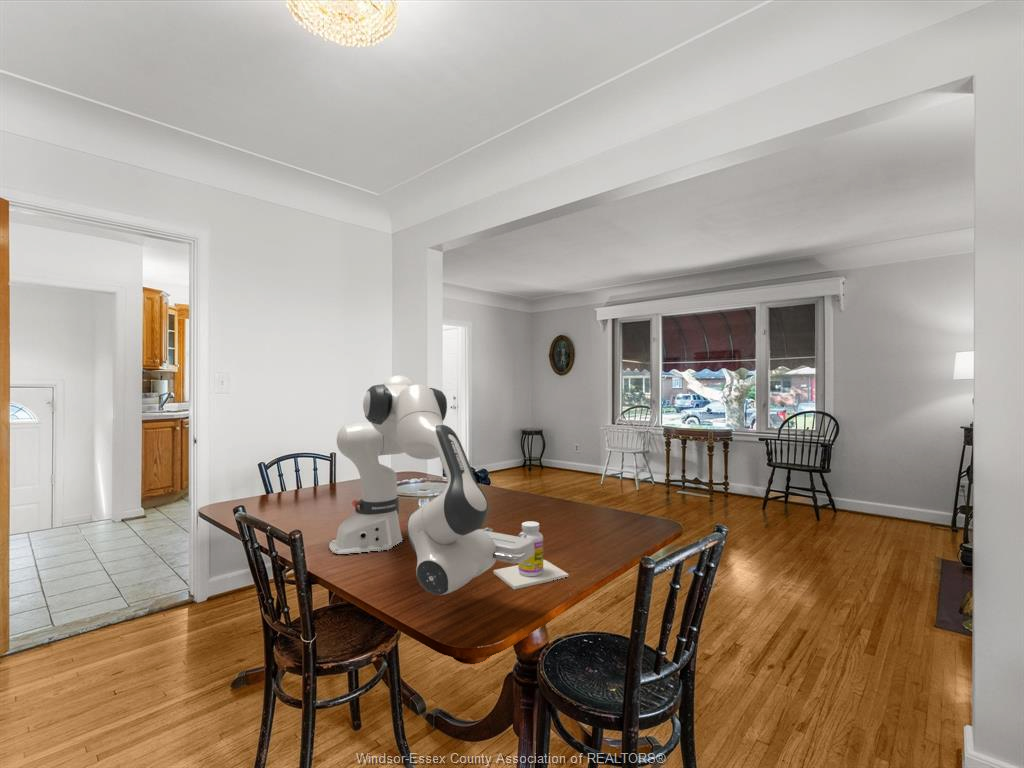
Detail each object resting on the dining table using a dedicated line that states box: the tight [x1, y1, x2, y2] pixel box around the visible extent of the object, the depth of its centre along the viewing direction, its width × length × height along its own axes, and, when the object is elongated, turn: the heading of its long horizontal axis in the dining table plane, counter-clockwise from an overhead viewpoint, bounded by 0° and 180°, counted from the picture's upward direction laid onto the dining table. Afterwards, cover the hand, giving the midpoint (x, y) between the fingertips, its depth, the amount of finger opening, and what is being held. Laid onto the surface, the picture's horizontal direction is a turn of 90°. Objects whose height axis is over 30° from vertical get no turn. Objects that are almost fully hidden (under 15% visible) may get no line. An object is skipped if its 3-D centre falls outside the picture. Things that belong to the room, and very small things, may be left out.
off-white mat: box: [493, 559, 570, 590], centre depth 130 cm, size 16×12×1 cm
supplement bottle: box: [517, 520, 544, 576], centre depth 130 cm, size 7×7×13 cm
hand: (506, 534), depth 120 cm, fingers open, 8 cm apart
